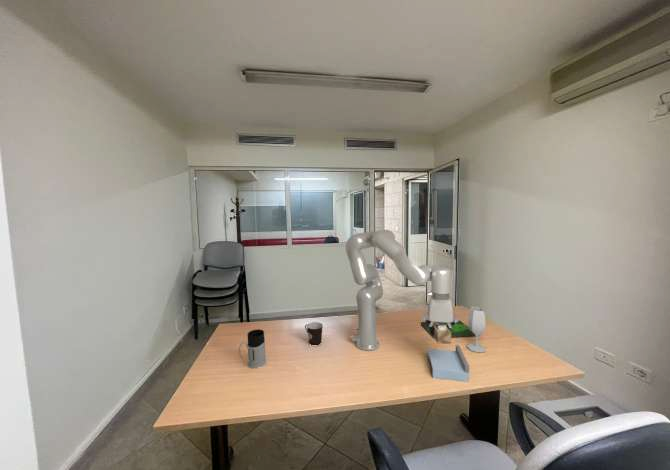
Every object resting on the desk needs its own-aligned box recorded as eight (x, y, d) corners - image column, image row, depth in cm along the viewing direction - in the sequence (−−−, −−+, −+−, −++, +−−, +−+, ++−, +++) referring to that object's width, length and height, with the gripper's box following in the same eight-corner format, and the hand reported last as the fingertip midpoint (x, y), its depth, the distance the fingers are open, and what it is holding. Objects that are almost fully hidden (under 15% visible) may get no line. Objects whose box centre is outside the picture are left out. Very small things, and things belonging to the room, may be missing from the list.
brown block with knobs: (437, 343, 112) (437, 328, 112) (429, 330, 124) (429, 317, 123) (450, 343, 112) (451, 329, 111) (441, 330, 124) (441, 317, 123)
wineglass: (488, 353, 130) (490, 312, 128) (469, 352, 131) (470, 311, 129) (482, 345, 138) (483, 306, 136) (464, 343, 140) (465, 305, 138)
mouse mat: (433, 340, 145) (433, 338, 145) (417, 323, 167) (417, 321, 167) (480, 336, 148) (480, 335, 148) (458, 320, 169) (458, 319, 169)
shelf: (433, 378, 112) (433, 362, 111) (427, 356, 128) (428, 342, 128) (468, 382, 109) (469, 366, 108) (458, 359, 125) (459, 345, 125)
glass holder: (270, 360, 127) (269, 331, 126) (247, 377, 115) (245, 344, 114) (257, 356, 132) (256, 327, 130) (234, 371, 120) (232, 339, 118)
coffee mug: (325, 345, 141) (324, 327, 140) (309, 348, 138) (309, 330, 137) (318, 335, 152) (318, 319, 151) (304, 338, 149) (303, 321, 148)
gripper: (420, 297, 114) (420, 337, 116) (463, 299, 111) (462, 340, 112) (419, 292, 122) (418, 329, 123) (459, 293, 118) (458, 332, 120)
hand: (439, 334), depth 118 cm, fingers closed on brown block with knobs, 6 cm apart
